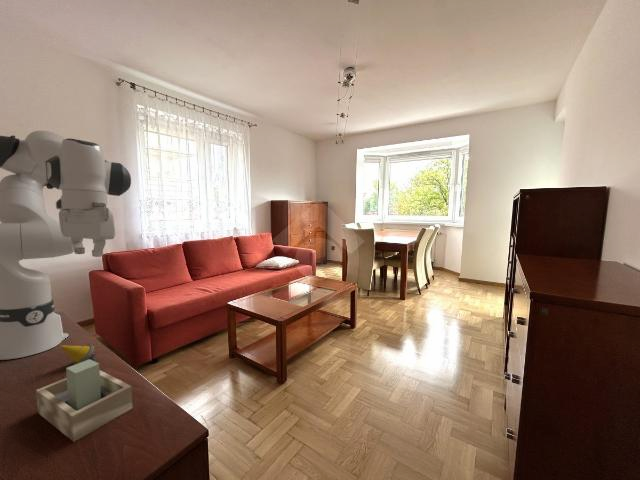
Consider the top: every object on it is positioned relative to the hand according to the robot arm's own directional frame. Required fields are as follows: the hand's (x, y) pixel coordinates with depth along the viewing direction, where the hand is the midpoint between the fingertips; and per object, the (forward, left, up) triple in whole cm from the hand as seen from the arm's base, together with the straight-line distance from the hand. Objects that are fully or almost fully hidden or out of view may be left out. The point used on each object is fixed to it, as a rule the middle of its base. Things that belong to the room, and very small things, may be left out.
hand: (88, 255), depth 71 cm
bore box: (+18, -9, -31) cm, 37 cm away
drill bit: (-5, -1, -31) cm, 32 cm away
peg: (+18, -9, -31) cm, 37 cm away
